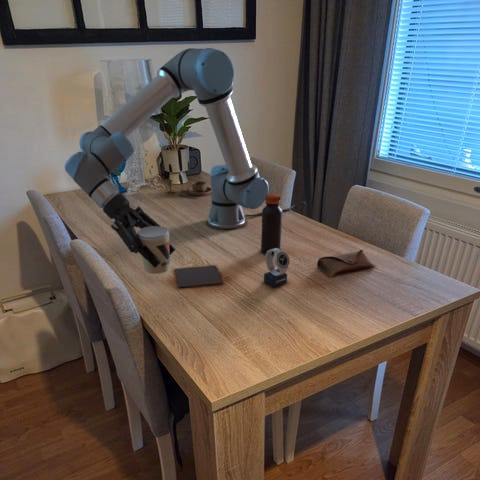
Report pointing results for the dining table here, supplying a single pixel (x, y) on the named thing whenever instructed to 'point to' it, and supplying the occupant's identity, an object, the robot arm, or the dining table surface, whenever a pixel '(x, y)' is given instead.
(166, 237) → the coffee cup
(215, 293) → the dining table surface
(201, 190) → the place setting
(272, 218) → the bottle
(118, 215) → the robot arm
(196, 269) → the coaster
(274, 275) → the watch
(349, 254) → the sunglasses case
